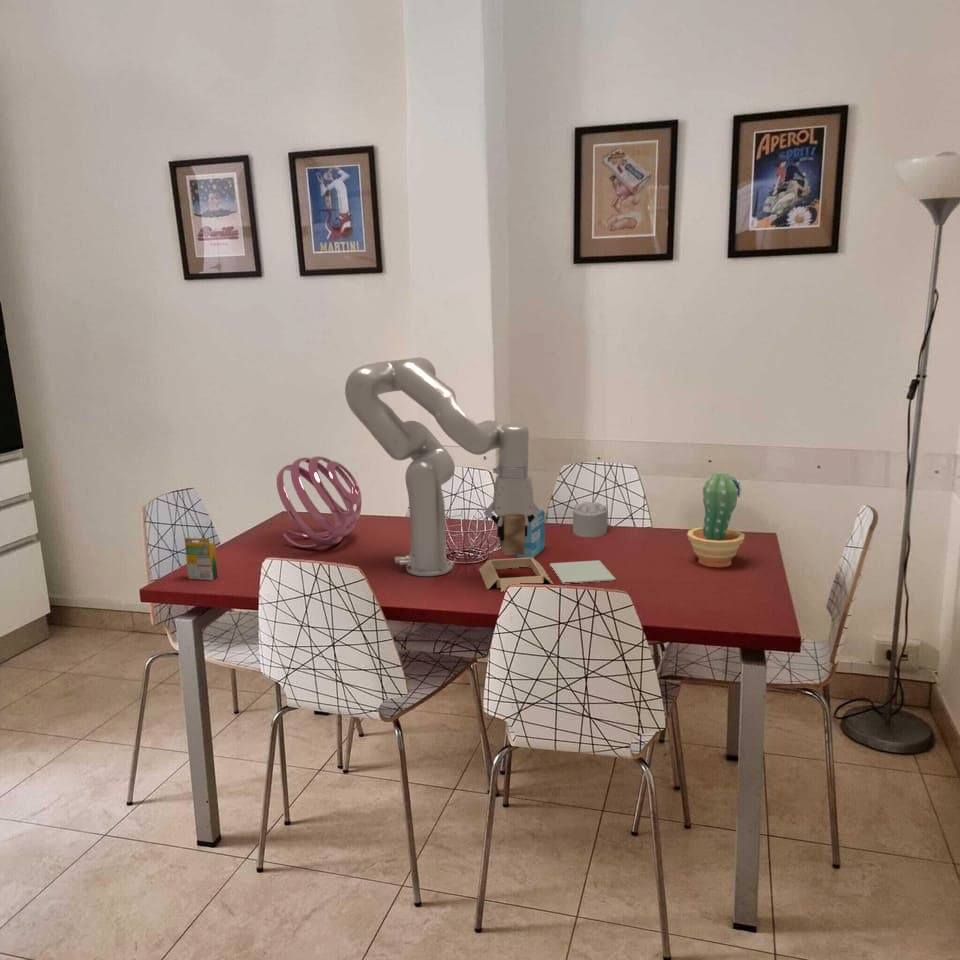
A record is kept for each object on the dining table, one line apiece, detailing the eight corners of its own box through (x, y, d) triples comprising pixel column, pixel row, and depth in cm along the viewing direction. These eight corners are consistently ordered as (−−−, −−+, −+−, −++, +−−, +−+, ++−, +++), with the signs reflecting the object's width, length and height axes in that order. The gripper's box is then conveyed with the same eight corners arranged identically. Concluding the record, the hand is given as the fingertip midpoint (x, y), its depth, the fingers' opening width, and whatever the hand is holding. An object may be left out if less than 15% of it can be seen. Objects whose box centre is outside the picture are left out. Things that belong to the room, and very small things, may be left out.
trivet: (562, 584, 228) (562, 582, 228) (549, 565, 243) (549, 563, 243) (615, 581, 229) (615, 578, 229) (599, 562, 245) (599, 560, 245)
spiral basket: (233, 486, 259) (303, 436, 252) (283, 488, 285) (348, 442, 279) (277, 569, 253) (350, 519, 247) (323, 563, 280) (391, 518, 273)
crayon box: (218, 576, 240) (214, 535, 237) (213, 580, 237) (209, 539, 234) (193, 575, 241) (189, 535, 239) (188, 579, 238) (183, 538, 236)
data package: (531, 560, 248) (530, 519, 245) (516, 558, 250) (515, 517, 247) (545, 548, 259) (544, 508, 256) (530, 546, 261) (530, 507, 258)
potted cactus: (749, 571, 235) (754, 479, 229) (691, 571, 236) (694, 479, 230) (737, 553, 250) (741, 467, 244) (681, 553, 251) (684, 467, 246)
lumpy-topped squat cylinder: (608, 526, 280) (608, 500, 278) (604, 538, 268) (604, 510, 266) (575, 525, 282) (575, 499, 280) (570, 537, 270) (570, 509, 268)
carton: (488, 593, 223) (488, 583, 222) (477, 567, 243) (477, 557, 243) (556, 588, 225) (556, 578, 224) (539, 563, 245) (539, 553, 245)
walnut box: (505, 555, 228) (505, 517, 226) (499, 544, 237) (500, 508, 234) (524, 554, 229) (525, 516, 226) (518, 544, 237) (519, 507, 235)
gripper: (482, 475, 223) (482, 544, 227) (548, 474, 225) (546, 542, 229) (478, 469, 230) (478, 536, 234) (542, 468, 233) (541, 534, 237)
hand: (512, 538), depth 232 cm, fingers closed on walnut box, 5 cm apart
